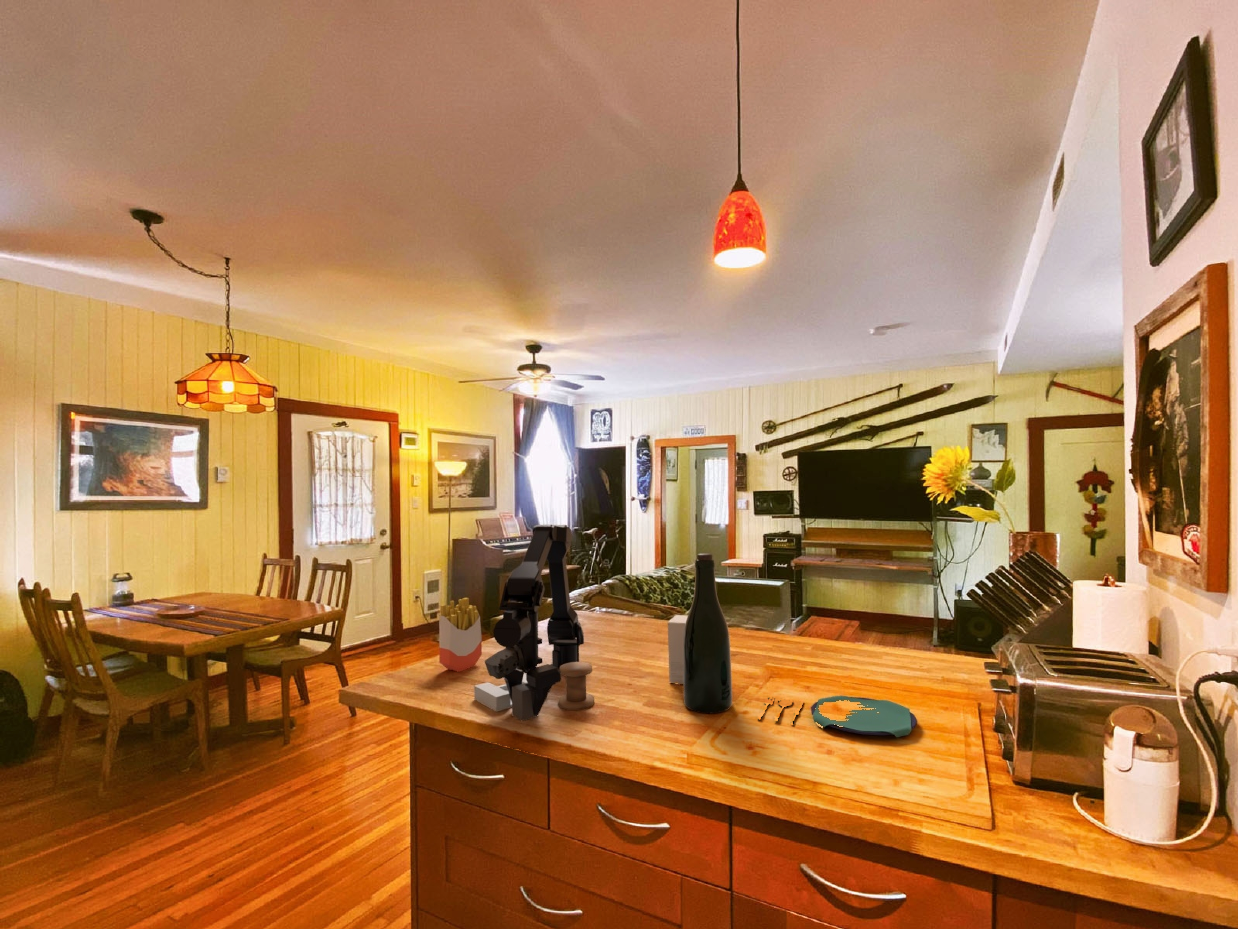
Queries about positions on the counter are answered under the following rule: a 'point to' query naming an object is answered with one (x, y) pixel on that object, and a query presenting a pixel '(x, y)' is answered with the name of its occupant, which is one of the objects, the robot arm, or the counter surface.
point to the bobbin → (576, 686)
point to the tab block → (522, 702)
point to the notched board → (494, 695)
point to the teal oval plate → (870, 717)
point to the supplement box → (676, 648)
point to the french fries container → (459, 636)
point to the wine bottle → (706, 646)
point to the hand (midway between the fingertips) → (525, 709)
